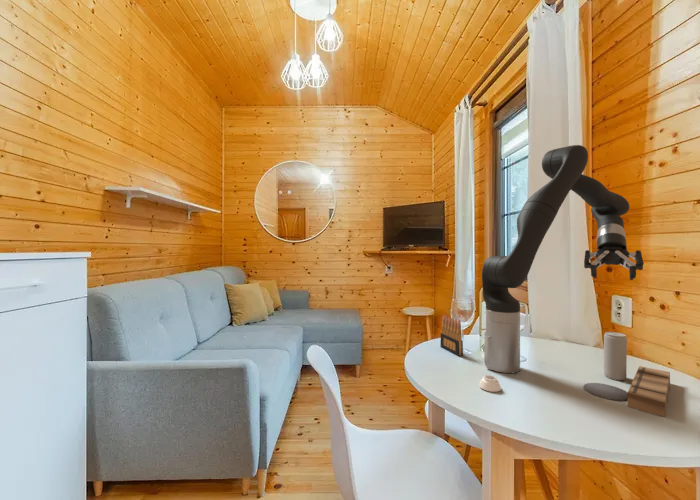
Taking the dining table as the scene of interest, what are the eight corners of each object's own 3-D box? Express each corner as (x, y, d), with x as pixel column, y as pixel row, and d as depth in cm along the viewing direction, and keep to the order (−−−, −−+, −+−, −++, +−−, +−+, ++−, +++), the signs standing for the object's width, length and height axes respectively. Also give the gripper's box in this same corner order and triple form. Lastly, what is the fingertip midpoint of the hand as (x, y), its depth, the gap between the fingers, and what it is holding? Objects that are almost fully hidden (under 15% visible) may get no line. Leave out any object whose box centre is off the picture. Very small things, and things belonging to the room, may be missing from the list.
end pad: (594, 398, 76) (594, 396, 76) (577, 382, 84) (577, 381, 84) (639, 402, 73) (639, 401, 73) (617, 386, 82) (617, 384, 82)
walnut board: (664, 416, 67) (664, 402, 67) (627, 406, 72) (627, 392, 72) (669, 383, 84) (670, 371, 84) (639, 376, 88) (639, 365, 88)
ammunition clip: (463, 356, 105) (463, 319, 105) (458, 356, 105) (458, 320, 105) (444, 346, 116) (444, 313, 115) (440, 346, 115) (440, 313, 115)
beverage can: (599, 374, 90) (599, 331, 90) (615, 373, 90) (615, 331, 90) (614, 381, 85) (615, 336, 85) (631, 380, 85) (631, 336, 85)
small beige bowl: (482, 382, 85) (476, 389, 81) (482, 371, 85) (476, 377, 81) (503, 388, 81) (497, 395, 78) (503, 376, 81) (497, 383, 78)
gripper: (584, 232, 108) (583, 268, 99) (641, 231, 99) (646, 270, 90) (584, 248, 112) (584, 283, 103) (638, 248, 104) (643, 287, 95)
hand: (613, 277), depth 97 cm, fingers open, 8 cm apart
